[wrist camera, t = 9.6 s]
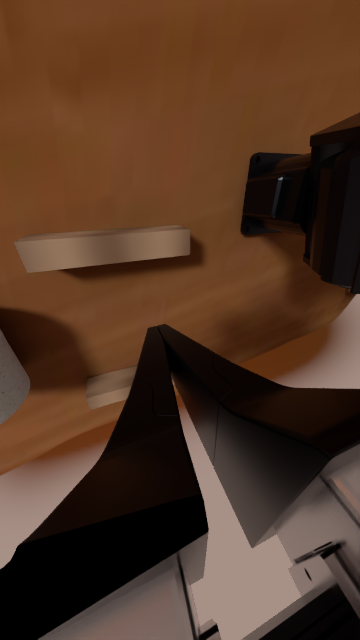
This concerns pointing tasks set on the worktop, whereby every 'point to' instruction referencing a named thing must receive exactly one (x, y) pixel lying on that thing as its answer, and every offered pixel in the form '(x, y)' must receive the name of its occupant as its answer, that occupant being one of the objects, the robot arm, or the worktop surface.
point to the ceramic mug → (11, 381)
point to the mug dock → (100, 250)
